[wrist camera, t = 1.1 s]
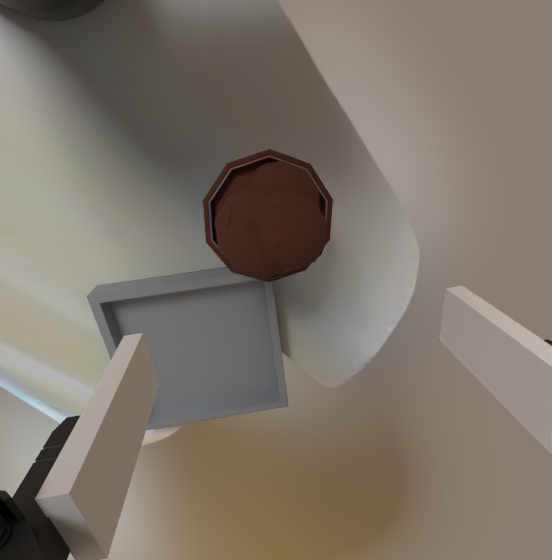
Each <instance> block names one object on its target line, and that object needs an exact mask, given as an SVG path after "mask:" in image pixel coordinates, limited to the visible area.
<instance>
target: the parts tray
mask: <svg viewBox="0 0 552 560" xmlns="http://www.w3.org/2000/svg"><path fill="white" fill-rule="evenodd" d="M87 298H88V301H89V303H90V306H91V309H92V311H93V314H94V316H95V319H96V322H97V324H98V327H99V329H100V332H101V335H102V337H103V340H104V342H105V345H106V348H107V350H108V353H109V356H110V358H111V359H112V357H113V355H114V353H115V351H116V350H117V348H118V346H119V344H120V342H121V340H122V339H123V337H124V336H125V335H132V334H139V333H143V335H144V338H145V341H146V344H147V347H148V350H149V353H150V356H151V359H152V362H153V365H154V368H155V371H156V374H157V377H158V381H159V388H158V391H157V394H156V398H155V401H154V404H153V408H152V411H151V414H150V418H149V421H148V424H147V428H146V430H150V429H156V428H162V427H168V426H174V425H179V424H185V423H191V422H197V421H203V420H209V419H215V418H221V417H227V416H232V415H239V414H244V413H250V412H257V411H263V410H268V409H274V408H280V407H286V406H288V400H287V392H286V384H285V376H284V368H283V361H282V352H281V344H280V336H279V328H278V320H277V312H276V304H275V296H274V288H273V281H271V282H266V281H262V280H259V279H255V278H251V277H247V276H244V275H240V274H236V273H232V272H231V271H230V270H229V268H228V267H225V268H218V269H211V270H204V271H197V272H190V273H183V274H176V275H169V276H162V277H155V278H148V279H140V280H133V281H126V282H119V283H112V284H105V285H98V286H96V287H95V288H94V289H93V290H92V291H91V292H90V293H89V294H88V296H87Z"/></svg>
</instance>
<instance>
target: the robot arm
mask: <svg viewBox="0 0 552 560" xmlns="http://www.w3.org/2000/svg"><path fill="white" fill-rule="evenodd" d="M102 1H103V0H0V4H2V5H4V6H6V7H8V8H10V9H12V10H14V11H16V12H18V13H21V14H24V15H27V16H30V17H34V18H39V19H46V20H62V19H69V18H73V17H76V16H79V15H82V14H84V13H86V12H88V11H90V10H92V9H93V8H94V7H96V6H97V5H98V4H100V3H101V2H102ZM439 341H440V342H442V343H443V345H445V346H446V348H447V349H448V350H449V351H450V352H451V353H452V354H453V355H454V356H455V357H456V358H457V359H458V360H459V361H460V362H461V363H462V364H463V365H464V366H465V367H466V368H467V369H468V370H469V371H470V372H471V373H472V374H473V375H474V376H475V377H476V378H477V379H478V380H479V381H480V382H481V383H482V384H483V385H484V386H485V387H486V388H487V389H488V390H489V391H490V392H491V393H492V394H493V395H494V396H495V398H496V399H498V401H499V402H500V403H501V404H502V405H503V406H504V407H505V408H506V409H507V410H508V411H509V412H510V413H511V414H512V415H513V416H514V417H515V418H516V419H517V420H518V421H519V422H520V423H521V424H522V425H523V426H524V427H525V428H526V429H527V430H528V431H529V432H530V433H531V434H532V435H533V436H534V437H535V438H536V439H537V440H538V441H539V442H540V443H541V444H542V445H543V446H544V447H545V448H546V449H547V450H548V451H549V452H550V453H551V454H552V341H550V340H542V339H541V338H539V337H538V336H536V335H535V334H533V333H532V332H530V331H529V330H527V329H526V328H524V327H523V326H521V325H520V324H518V323H517V322H515V321H514V320H512V319H511V318H509V317H508V316H506V315H505V314H504V313H502V312H501V311H499V310H498V309H496V308H494V307H493V306H492V305H490V304H489V303H487V302H486V301H484V300H483V299H481V298H480V297H478V296H477V295H475V294H474V293H472V292H471V291H469V290H468V289H466V288H465V287H464V286H457V287H450V288H446V290H445V298H444V305H443V313H442V321H441V329H440V336H439ZM158 388H159V381H158V377H157V374H156V371H155V368H154V365H153V362H152V359H151V356H150V353H149V350H148V347H147V344H146V341H145V338H144V335H143V333H139V334H132V335H125V336H124V337H123V339H122V340H121V342H120V344H119V346H118V348H117V350H116V351H115V353H114V355H113V357H112V359H111V361H110V362H109V364H108V366H107V368H106V370H105V372H104V373H103V375H102V377H101V379H100V381H99V383H98V384H97V386H96V388H95V390H94V392H93V394H92V395H91V397H90V399H89V401H88V403H87V405H86V406H85V408H84V410H83V412H82V414H81V415H80V416H74V417H68V418H66V419H65V420H64V421H63V422H62V423H61V424H60V425H59V426H58V427H57V428H56V429H55V430H54V431H53V432H52V434H51V435H50V437H49V439H48V440H47V442H46V444H45V445H44V447H43V448H44V449H43V450H41V452H40V454H39V455H38V457H37V458H36V462H35V463H33V465H32V467H31V468H30V470H29V472H28V473H27V475H26V476H25V478H24V480H23V481H22V483H21V484H20V486H19V488H18V489H17V491H16V493H15V494H14V496H13V498H11V497H10V495H9V494H8V493H7V492H6V491H1V490H0V560H67V558H68V555H69V553H71V554H72V556H73V557H74V559H75V560H101V559H106V558H108V554H109V551H110V548H111V544H112V541H113V538H114V534H115V531H116V528H117V524H118V520H119V518H120V514H121V511H122V508H123V504H124V501H125V497H126V494H127V491H128V488H129V484H130V481H131V478H132V474H133V471H134V468H135V464H136V461H137V458H138V454H139V451H140V448H141V444H142V441H143V438H144V434H145V431H146V428H147V424H148V421H149V418H150V414H151V411H152V408H153V404H154V401H155V398H156V394H157V391H158Z"/></svg>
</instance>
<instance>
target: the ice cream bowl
mask: <svg viewBox="0 0 552 560" xmlns="http://www.w3.org/2000/svg"><path fill="white" fill-rule="evenodd" d="M332 203H333V199H332V198H331V196H330V194H329V193H328V191H327V190H326V188H325V186H324V185H323V183H322V182H321V180H320V178H319V177H318V175H317V173H316V172H315V170H314V169H313V167H312V165H311V164H309V163H306V162H304V161H301V160H298V159H295V158H293V157H290V156H287V155H284V154H282V153H279V152H276V151H273V150H270V149H268V150H266V151H263V152H260V153H257V154H254V155H251V156H248V157H245V158H242V159H239V160H236V161H233V162H230V163H227V165H226V166H225V168H224V169H223V171H222V172H221V174H220V175H219V177H218V178H217V180H216V181H215V183H214V185H213V186H212V188H211V189H210V191H209V192H208V194H207V195H206V197H205V198H204V200H203V206H204V219H205V233H206V243H207V244H208V245H209V246H210V247H211V248H212V250H213V251H214V252H215V253H216V254H217V255H218V257H219V258H220V259H221V260H222V261H223V262H224V264H225V265H226V266H227V267H228V268H229V270H230V271H231V272H232V273H236V274H240V275H244V276H247V277H251V278H255V279H259V280H262V281H266V282H271V281H274V280H277V279H280V278H283V277H286V276H289V275H292V274H295V273H298V272H301V271H304V270H306V269H307V267H308V266H309V265H310V264H311V263H313V262H315V261H316V259H317V258H318V257H319V256H320V255H321V254H322V251H323V249H324V246H325V245H326V244H327V242H328V241H329V240H330V229H331V216H332Z"/></svg>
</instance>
